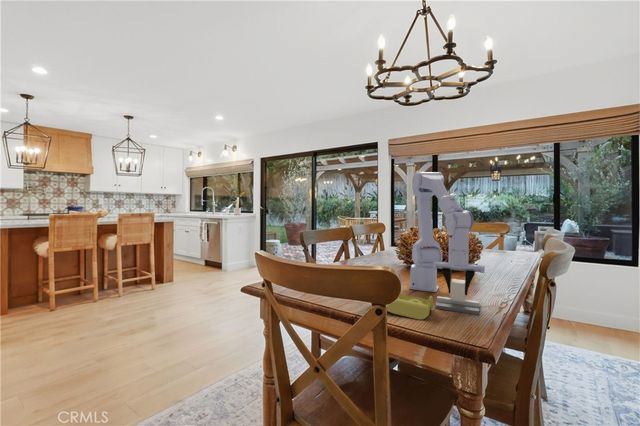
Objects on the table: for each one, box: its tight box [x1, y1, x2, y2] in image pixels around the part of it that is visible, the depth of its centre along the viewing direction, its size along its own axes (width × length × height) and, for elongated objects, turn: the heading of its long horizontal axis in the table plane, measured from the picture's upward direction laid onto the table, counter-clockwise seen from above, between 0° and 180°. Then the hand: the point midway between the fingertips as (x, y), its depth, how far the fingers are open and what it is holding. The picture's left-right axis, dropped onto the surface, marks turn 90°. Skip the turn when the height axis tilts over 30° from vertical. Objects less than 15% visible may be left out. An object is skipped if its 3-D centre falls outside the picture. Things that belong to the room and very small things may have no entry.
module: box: [449, 278, 466, 302], centre depth 97 cm, size 4×5×6 cm
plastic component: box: [386, 293, 435, 321], centre depth 94 cm, size 20×7×10 cm
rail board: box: [434, 295, 480, 316], centre depth 97 cm, size 12×10×2 cm
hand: (457, 293), depth 97 cm, fingers closed on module, 4 cm apart
